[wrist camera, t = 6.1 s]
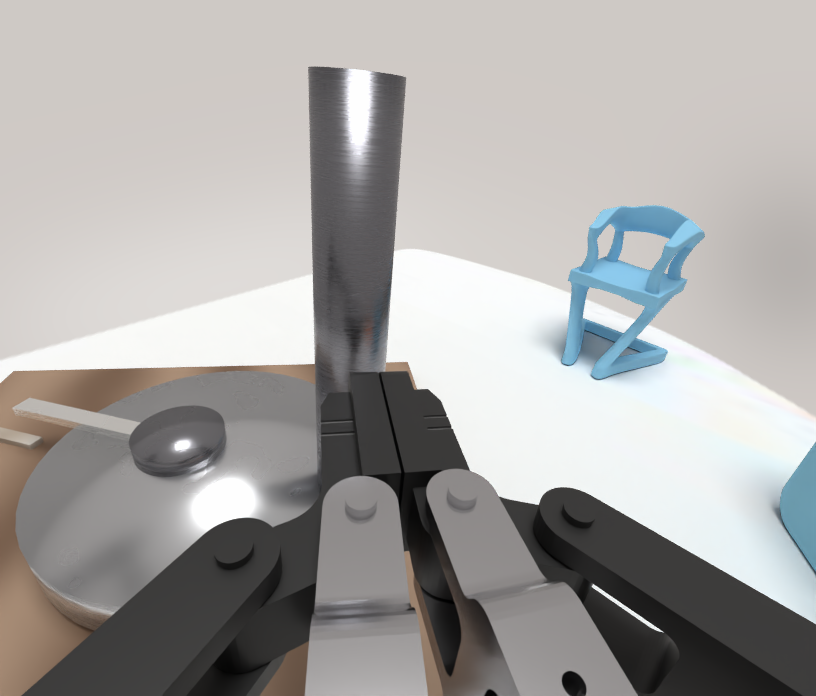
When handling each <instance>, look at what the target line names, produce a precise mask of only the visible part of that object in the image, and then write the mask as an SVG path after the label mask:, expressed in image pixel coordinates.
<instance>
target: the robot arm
mask: <svg viewBox="0 0 816 696" xmlns="http://www.w3.org/2000/svg"><path fill="white" fill-rule="evenodd" d="M320 407H321V465H322V488H321V492H320V495H319V497H318V499H317V500H316V502H315V503H314V504H313V505H312V506H311V507H310V508H309V509H308V510H307V511H306V512H305V513H303V514H302V515H300V516H298V517H297V518H294V519H292V520H290V521H287V522H285V523H282V524H279V525H277V526H274V527H272V526H271V525H269V524H268V523H267V522H265V521H262V520H260V519H256V518H248V517H245V518H236V519H231V520H228V521H225V522H223V523H220V524H218V525H216V526H215V527H213V528H211V529H210V530H209V531H207V532H206V533H205V534H203V535H202V536H201V537H200V538H199V539H198V540H197V541H196V542H194V543H193V544H192V545H191V546H190V547H189V548H188V549H187V550H185V551H184V552H183V553H182V554H181V555H180V556H179V557H177V558H176V559H175V560H174V561H173V562H172V563H171V564H170V565H168V566H167V567H166V568H165V569H164V570H163V571H162V572H161V573H159V574H158V575H157V576H156V577H155V578H154V579H153V580H151V581H150V582H149V583H148V584H147V585H146V586H145V587H144V588H142V589H141V590H140V591H139V592H138V593H137V594H136V595H135V596H133V597H132V598H131V599H130V600H129V601H128V602H127V603H125V604H124V605H123V606H122V607H121V608H120V609H119V610H118V611H116V612H115V613H114V614H113V615H112V616H111V617H110V618H109V619H107V620H106V621H105V622H104V623H103V624H102V625H101V626H99V627H98V628H97V629H96V630H95V631H94V632H93V633H92V634H90V635H89V636H88V637H87V638H86V639H85V640H84V641H83V642H81V643H80V644H79V645H78V646H77V647H76V648H75V649H73V650H72V651H71V652H70V653H69V654H68V655H67V656H66V657H64V658H63V659H62V660H61V661H60V662H59V663H58V664H57V665H55V666H54V667H53V668H52V669H51V670H50V671H49V672H47V673H46V674H45V675H44V676H43V677H42V678H41V679H40V680H38V681H37V682H36V683H35V684H34V685H33V686H32V687H31V688H29V689H28V690H27V691H26V692H25V693H24V694H23V695H21V696H260V694H261V693H262V691H263V690H264V689H265V687H266V686H267V684H268V683H269V682H270V680H271V679H272V677H273V676H274V675H275V673H276V672H277V670H278V669H279V667H280V666H281V664H282V662H283V661H284V658H285V656H286V653H287V652H289V651H291V650H293V649H295V648H297V647H299V646H301V645H302V644H304V643H306V642H308V641H309V649H308V661H307V673H306V685H305V696H428V691H427V683H426V675H425V667H424V659H423V652H422V644H421V636H420V628H419V622H418V617H417V613H416V610H415V608H414V607H411V604H410V599H409V591H408V582H407V574H406V565H405V556H404V552H405V551H409V553H410V558H411V563H412V568H413V572H414V578H413V584H414V589H415V593H416V596H417V600H418V603H419V607H420V611H421V614H422V618H423V621H424V625H425V628H426V632H427V635H428V639H429V642H430V646H431V649H432V653H433V657H434V660H435V664H436V667H437V671H438V674H439V678H440V682H441V686H442V692H443V696H816V624H814V623H813V622H811V621H809V620H807V619H806V618H804V617H802V616H800V615H799V614H797V613H795V612H793V611H792V610H790V609H788V608H786V607H785V606H783V605H781V604H779V603H778V602H776V601H774V600H772V599H771V598H769V597H767V596H765V595H764V594H762V593H760V592H758V591H757V590H755V589H753V588H751V587H750V586H748V585H746V584H745V583H743V582H741V581H739V580H738V579H736V578H734V577H732V576H731V575H729V574H727V573H725V572H724V571H722V570H720V569H718V568H717V567H715V566H713V565H711V564H710V563H708V562H706V561H704V560H703V559H701V558H699V557H697V556H696V555H694V554H692V553H690V552H689V551H687V550H685V549H683V548H682V547H680V546H678V545H676V544H675V543H673V542H671V541H669V540H668V539H666V538H664V537H662V536H661V535H659V534H657V533H655V532H654V531H652V530H650V529H648V528H647V527H645V526H643V525H642V524H640V523H638V522H636V521H635V520H633V519H631V518H629V517H628V516H626V515H624V514H622V513H621V512H619V511H617V510H615V509H614V508H612V507H610V506H608V505H607V504H605V503H603V502H601V501H600V500H598V499H596V498H594V497H593V496H591V495H589V494H587V493H585V492H582V491H580V490H577V489H573V488H564V487H560V488H554V489H551V490H549V491H547V492H546V493H545V494H544V495H543V496H542V498H541V500H540V503H539V505H535V504H530V503H524V502H519V501H514V500H509V499H505V498H502V497H499V496H498V495H497V493H496V491H495V489H494V488H493V486H492V485H491V484H490V483H489V482H488V481H487V480H486V479H485V478H483V477H482V476H480V475H478V474H476V473H474V472H471V471H470V470H469V467H468V465H467V462H466V460H465V458H464V455H463V453H462V450H461V448H460V446H459V443H458V441H457V439H456V436H455V434H454V431H453V429H451V424H450V422H449V419H448V417H447V416H446V412H445V410H444V407H443V405H442V403H441V401H440V400H439V399H438V398H437V397H436V396H435V395H434V394H433V393H432V392H430V391H429V390H428V389H420V390H414V387H413V385H412V382H411V379H410V376H409V373H408V371H386V372H379V374H378V372H349V377H348V392H337V393H328V395H327V396H326V398H325V400H324V401H323V403H322V404H321V406H320ZM593 584H594V585H596V586H597V587H599V588H600V589H602V590H603V591H605V592H606V593H608V594H609V595H610V596H612V597H613V598H615V599H616V600H618V601H619V602H621V603H622V604H624V605H625V606H627V607H628V608H629V609H631V610H632V611H634V612H635V613H637V614H638V615H640V616H641V617H643V618H644V619H646V620H647V621H648V622H650V623H651V624H653V625H654V626H656V627H657V628H659V629H660V630H662V631H663V632H664V633H663V632H659V631H656V630H654V629H652V628H650V627H648V626H647V625H646V624H644V623H643V622H641V621H640V620H638V619H637V618H635V617H634V616H632V615H631V614H630V613H628V612H627V611H625V610H624V609H622V608H621V607H619V606H618V605H617V604H615V603H614V602H612V601H611V600H609V599H608V598H606V597H605V596H604V595H602V594H601V593H599V592H598V591H596V590H595V589H593V588H592V585H593Z"/></svg>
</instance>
